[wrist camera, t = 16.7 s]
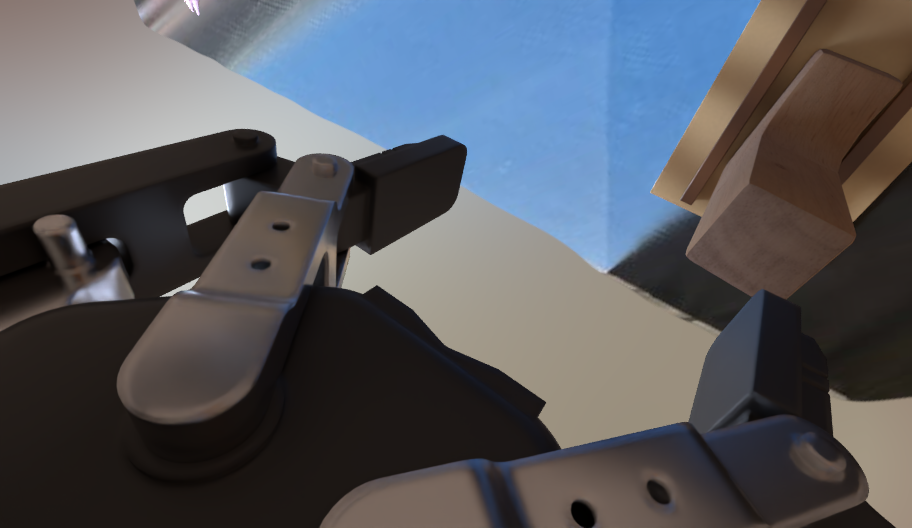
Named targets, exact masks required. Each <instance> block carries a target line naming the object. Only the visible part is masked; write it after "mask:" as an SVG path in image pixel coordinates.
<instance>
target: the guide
mask: <svg viewBox="0 0 912 528" xmlns="http://www.w3.org/2000/svg"><path fill="white" fill-rule="evenodd" d="M819 49H828V50H831V51H833V52H836V53H838V54H841V55H844V56H846V57H849V58H851V59H854V60H856V61H859V62H861V63H864V64H866V65H869V66H871V67H874V68H876V69H879V70H881V71H884V72H886V73H889V74H891V75H892V76H894V77H896V78H898V79H899V80H900V81H901V82H902V83H903V85H902V87H901V90H900V91H899V92H898V93H897V94H896V95H895V96H894V98H893V99H892V100H891V101H890V102H889V103H888V104H887V105H886V106H885V107H884V108H883V110H882V111H881V112H880V113H879V114H878V115H877V116H876V117H875V118H874V119H873V120H872V121H871V123H870V124H869V125H868V126H867V127H866V128H865V129H864V130H863V131H862V132H861V134H860V135H859V136H858V138H857V139H856V141H855V142H854V144H853V145H852V146H851V148H850V149H849V151H848V152H847V153H846V155H845V156H844V158H843V159H842V162H841V165H840V168H839V171H838V174H839V178H840V181H841V184H842V188H843V191H844V195H845V198H846V201H847V205H848V208H849V211H850V215H851V218H852V222H854V221H855V220H856V219H857V218H858V216H859V215H860V214H861V213H862V212H863V211H864V210H865V209H866V208H867V207H868V206H869V205H870V204H871V203H872V202H873V201H874V200H875V199H876V198H877V197H878V196H879V195H880V194H881V193H882V192H883V191H884V190H885V189H886V188H887V187H888V186H889V185H890V184H891V183H892V181H893V180H894V179H895V178H896V177H897V176H898V175H899V174H900V173H901V172H902V171H903V170H904V169H905V168H906V167H907V166H908V165H909V164H910V163H911V162H912V0H761V1H760V3H759V5H758V7H757V8H756V10H755V12H754V14H753V15H752V17H751V19H750V20H749V22H748V24H747V26H746V27H745V29H744V31H743V33H742V34H741V36H740V38H739V40H738V41H737V43H736V45H735V46H734V48H733V50H732V52H731V53H730V55H729V57H728V59H727V60H726V62H725V64H724V65H723V67H722V69H721V71H720V72H719V74H718V76H717V78H716V79H715V81H714V83H713V84H712V86H711V88H710V90H709V91H708V93H707V95H706V97H705V98H704V100H703V102H702V103H701V105H700V107H699V109H698V110H697V112H696V114H695V116H694V117H693V119H692V121H691V122H690V124H689V126H688V128H687V129H686V131H685V133H684V135H683V136H682V138H681V140H680V141H679V143H678V145H677V147H676V148H675V150H674V152H673V154H672V155H671V157H670V159H669V161H668V162H667V164H666V166H665V167H664V169H663V171H662V173H661V174H660V176H659V178H658V180H657V181H656V183H655V185H654V186H653V188H652V190H651V192H650V193H652V194H654V195H656V196H658V197H661V198H663V199H665V200H667V201H669V202H671V203H673V204H676V205H678V206H680V207H682V208H684V209H686V210H688V211H691V212H693V213H695V214H697V215H699V216H701V217H702V216H703V214H704V211H705V209H706V207H707V205H708V203H709V201H710V199H711V196H712V194H713V192H714V190H715V188H716V185H717V183H718V181H719V179H720V177H721V175H722V173H723V170H724V168H725V166H726V164H727V162H728V161H729V160H730V159H731V157H732V156H733V155H734V154H735V152H736V151H737V150H738V148H739V147H740V146H741V145H742V143H743V142H744V141H745V140H746V138H747V137H748V136H749V135H750V133H751V132H752V131H753V130H754V128H755V127H756V126H757V125H758V123H759V122H760V121H761V119H762V118H763V117H764V116H765V114H766V113H767V112H768V111H769V109H770V108H771V107H772V106H773V104H774V103H775V102H776V101H777V99H778V98H779V97H780V96H781V94H782V93H783V92H784V91H785V89H786V88H787V87H788V85H789V84H790V83H791V82H792V80H793V79H794V78H795V77H796V75H797V74H798V73H799V72H800V70H801V69H802V68H803V67H804V65H805V64H806V63H807V62H808V60H809V59H810V58H811V56H812V55H813V54H814V53H815V52H816V51H818V50H819Z"/></svg>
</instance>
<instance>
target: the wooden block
mask: <svg viewBox="0 0 912 528" xmlns="http://www.w3.org/2000/svg"><path fill="white" fill-rule="evenodd" d="M902 85H903V83H902V82H901V81H900V80H899V79H898V78H896V77H894V76H892V75H891V74H889V73H886V72H884V71H881V70H879V69H876V68H874V67H871V66H869V65H866V64H864V63H861V62H859V61H856V60H854V59H851V58H849V57H846V56H844V55H841V54H838V53H836V52H833V51H831V50H828V49H819V50H818V51H816V52H815V53H814V54H813V55H812V56H811V58H810V59H809V60H808V62H807V63H806V64H805V65H804V67H803V68H802V69H801V70H800V72H799V73H798V74H797V75H796V77H795V78H794V79H793V80H792V82H791V83H790V84H789V85H788V87H787V88H786V89H785V91H784V92H783V93H782V94H781V96H780V97H779V98H778V99H777V101H776V102H775V103H774V104H773V106H772V107H771V108H770V109H769V111H768V112H767V113H766V114H765V116H764V117H763V118H762V119H761V121H760V122H759V123H758V125H757V126H756V127H755V128H754V130H753V131H752V132H751V133H750V135H749V136H748V137H747V138H746V140H745V141H744V142H743V143H742V145H741V146H740V147H739V148H738V150H737V151H736V152H735V154H734V155H733V156H732V157H731V159H730V160H729V161H728V162H727V164H726V166H725V168H724V170H723V173H722V175H721V177H720V179H719V181H718V183H717V185H716V188H715V190H714V192H713V194H712V196H711V199H710V201H709V203H708V205H707V207H706V209H705V211H704V214H703V216H702V218H701V220H700V222H699V224H698V227H697V229H696V231H695V233H694V235H693V237H692V239H691V242H690V244H689V246H688V248H687V251H686V256H687V257H688V258H689V259H690V260H691V261H693V262H694V263H696V264H698V265H699V266H701V267H703V268H704V269H706V270H708V271H709V272H711V273H713V274H714V275H716V276H718V277H719V278H721V279H723V280H724V281H726V282H728V283H729V284H731V285H733V286H735V287H736V288H738V289H740V290H741V291H743V292H745V293H746V294H748V295H750V296H751V297H753V296H754V295H755V294H756V293H757V292H758V291H759V290H761V289H765V290H767V291H769V292H771V293H773V294H775V295H777V296H779V297H781V298H783V299H787V298H788V297H789V296H791V295H792V294H793V293H794V292H795V291H796V290H798V289H799V288H800V287H801V286H802V285H803V284H805V283H806V282H807V281H808V280H809V279H811V278H812V277H813V276H814V275H815V274H816V273H818V272H819V271H820V270H821V269H822V268H824V267H825V266H826V265H827V264H828V263H829V262H831V261H832V260H833V259H834V258H835V257H836V256H838V255H839V254H840V253H841V252H842V251H844V250H845V249H846V248H847V247H848V246H849V245H851V244H852V243H853V242H854V239H855V237H856V232H855V228H854V225H853V222H852V218H851V215H850V211H849V208H848V205H847V201H846V198H845V195H844V191H843V188H842V184H841V181H840V178H839V174H838V171H839V168H840V165H841V162H842V159H843V158H844V156H845V155H846V153H847V152H848V151H849V149H850V148H851V146H852V145H853V144H854V142H855V141H856V139H857V138H858V136H859V135H860V134H861V132H862V131H863V130H864V129H865V128H866V127H867V126H868V125H869V124H870V123H871V121H872V120H873V119H874V118H875V117H876V116H877V115H878V114H879V113H880V112H881V111H882V110H883V108H884V107H885V106H886V105H887V104H888V103H889V102H890V101H891V100H892V99H893V98H894V96H895V95H896V94H897V93H898V92H899V91H900V90H901V87H902Z"/></svg>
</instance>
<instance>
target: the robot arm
mask: <svg viewBox="0 0 912 528" xmlns="http://www.w3.org/2000/svg"><path fill="white" fill-rule="evenodd" d="M466 156H467V148H466V146H465V145H463V144H461V143H459V142H457V141H455V140H453V139H451V138H449V137H447V136H445V135H440V136H437V137H434V138H431V139H428V140H425V141H423V142H420V143H412V144H404V145H401V146H398V147H395V148H393V149H392V150H391V149H389V150H386V151H383V152H382V154H381V153H377V154H374V155H371V156H368V157H365V158H362V159H359V160H356V161H353V162H349V161H348V160H346V159H344V158H342V157H339V156H336V155H331V154H310V155H305V156H303V157H300V158H299V159H297V161H296V162H293V161H290V160H287V159H284V158H280V157H278V156H277V153H276V141H275V139H274V137H272V136H271V135H269V134H267V133H265V132H262V131H258V130H251V129H235V130H229V131H224V132H220V133H216V134H212V135H207V136H204V137H199V138H195V139H191V140H186V141H182V142H178V143H174V144H170V145H166V146H161V147H157V148H153V149H149V150H145V151H141V152H137V153H132V154H128V155H124V156H120V157H116V158H112V159H107V160H103V161H99V162H95V163H91V164H86V165H82V166H78V167H74V168H70V169H66V170H62V171H58V172H53V173H49V174H45V175H41V176H36V177H33V178H28V179H24V180H20V181H16V182H12V183H7V184H3V185H0V528H895V527H894V526H893V525H892V524H891V523H890V522H889V521H887V520H886V519H885V518H884V517H882V516H881V515H880V514H879V513H878V512H877V511H876V510H875V509H873V508H872V507H871V506H870V505H869V504H868V503H867V502H866V501H865V500H866V498H867V497H868V493H869V487H868V482H867V479H866V476H865V474H864V472H863V470H862V469H861V467H860V466H859V464H858V463H857V461H856V460H855V459H854V457H853V456H852V455H851V454H850V453H849V451H848V450H847V449H846V448H845V447H844V446H843V445H842V444H841V443H840V442H839V441H838V440H836V439H835V438H834V437H833V427H832V415H831V403H830V395H829V394H828V392H829V380H827V377H828V368H827V359H826V357H825V356H824V354H823V353H822V351H821V349H820V348H819V346H818V344H817V343H816V341H815V339H813V338H811V337H809V336H807V335H805V334H803V333H801V307H800V306H798V305H796V304H794V303H792V302H790V301H788V300H786V299H783V298H781V297H779V296H777V295H775V294H773V293H771V292H769V291H767V290H765V289H761V290H759V291H758V292H757V293H756V294H755V295H754V296H753V297H752V298H751V299H750V300H749V301H748V302H747V304H746V305H745V306H744V307H743V308H742V309H741V310H740V312H739V313H738V314H737V315H736V316H735V317H734V319H733V320H732V321H731V322H730V323H729V324H728V325H727V327H726V328H725V329H724V330H723V331H722V332H721V333H720V335H719V336H718V337H717V338H716V340H715V341H714V343H713V344H712V346H711V347H710V349H709V351H708V353H707V355H706V358H705V362H704V365H703V369H702V373H701V377H700V381H699V384H698V388H697V392H696V395H695V399H694V403H693V407H692V410H691V415H690V418H689V422H681V423H676V424H671V425H667V426H663V427H659V428H654V429H649V430H645V431H641V432H636V433H632V434H627V435H623V436H618V437H614V438H610V439H606V440H601V441H597V442H592V443H588V444H583V445H579V446H574V447H570V448H566V449H561V448H560V446H559V444H558V443H557V441H556V440H555V438H554V437H553V435H552V434H551V432H550V431H549V430H548V428H546V426H545V425H544V424H543V423H542V421H541V420H540V419H539V418H538V416H539V414H540V413H541V411H542V409H543V407H544V406H545V404H546V402H545V401H544V400H542V399H541V398H539V397H538V396H536V395H535V394H533V393H532V392H530V391H529V390H528V389H526V388H525V387H523V386H522V385H521V384H519V383H518V382H516V381H514V380H513V379H512V378H510V377H509V376H508V375H506V374H505V373H503V372H502V371H500V370H499V369H496V368H494V367H492V366H490V365H487V364H485V363H483V362H480V361H478V360H476V359H473V358H471V357H469V356H466V355H464V354H462V353H459V352H457V351H455V350H452V349H450V348H448V347H447V346H445V345H444V344H443V343H442V342H441V341H440V340H439V339H438V338H437V337H436V336H435V334H434V333H433V332H432V331H431V330H430V329H429V328H428V327H427V325H426V324H425V323H424V322H423V321H422V320H421V319H420V317H419V316H418V315H417V314H416V313H415V312H414V311H413V310H412V309H411V308H409V307H408V306H406V305H405V304H403V303H402V302H400V301H399V300H398V299H396V298H395V297H393V296H392V295H390V294H389V293H388V292H386V291H384V290H383V289H382V288H380V287H379V286H377V285H376V286H375V287H374V288H372V289H370V290H369V291H367V292H366V293H364V294H361V293H358V292H355V291H351V290H348V289H342V288H341V287H342V283H343V279H344V276H345V272H346V268H347V265H348V261H349V258H350V247H352V246H354V245H356V246H358V247H359V248H361V249H362V250H364V251H365V252H367V253H368V254H370V255H372V254H374V253H375V252H377V251H379V250H381V249H382V248H384V247H386V246H388V245H389V244H391V243H393V242H395V241H396V240H398V239H400V238H401V237H403V236H405V235H407V234H409V233H411V232H412V231H414V230H416V229H417V228H419V227H421V226H423V225H425V224H426V223H428V222H430V221H432V220H433V219H435V218H437V217H439V216H440V215H442V214H444V213H446V212H447V211H448V210H449V209H450V208H451V207H452V206H453V204H454V203H455V201H456V199H457V196H458V192H459V188H460V183H461V179H462V174H463V170H464V165H465V161H466ZM221 185H223V186H224V192H225V198H226V204H227V210H226V211H223V212H221V213H218V214H215V215H213V216H210V217H208V218H205V219H203V220H200V221H198V222H195V223H193V224H190V225H186V221H185V217H184V213H183V208H184V205H185V203H186V201H187V200H188V199H189V198H190V197H191V196H193V195H195V194H197V193H200V192H203V191H206V190H209V189H212V188H215V187H218V186H221ZM199 277H200V278H199ZM196 278H199V279H198V281H197V282H196V284H195V285H194V286H193V287H192V288H191V289H190V290H187V291H180V292H177V293H176V294H174V295H173V296H168V297H160V296H162V295H164V294H166V293H168V292H170V291H172V290H174V289H176V288H178V287H180V286H182V285H184V284H186V283H188V282H191V281H192V280H195V279H196Z"/></svg>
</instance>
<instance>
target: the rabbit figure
mask: <svg viewBox="0 0 912 528" xmlns="http://www.w3.org/2000/svg"><path fill="white" fill-rule="evenodd" d="M185 2H186V3H187V5H188V6H189V8H190V9H191V11H194V9H193V5H194V8H195V10H196V13H197V15H200V12H199V0H185Z"/></svg>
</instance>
